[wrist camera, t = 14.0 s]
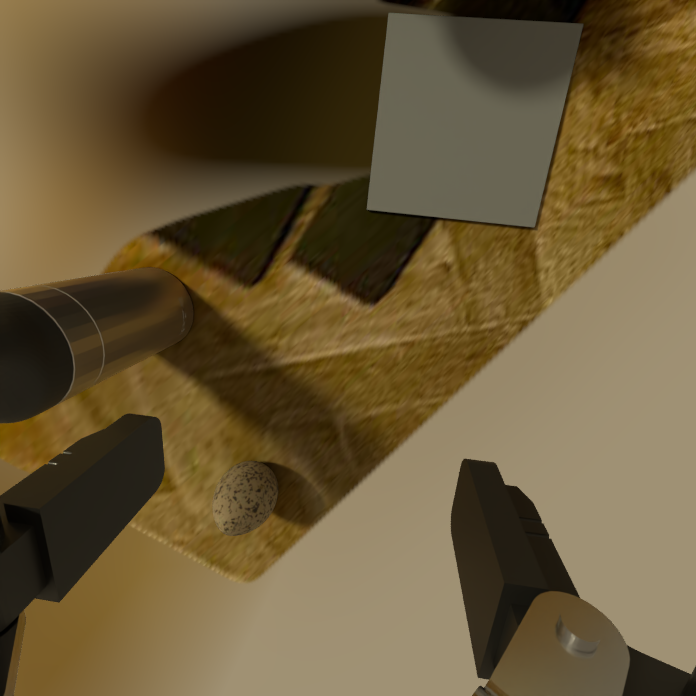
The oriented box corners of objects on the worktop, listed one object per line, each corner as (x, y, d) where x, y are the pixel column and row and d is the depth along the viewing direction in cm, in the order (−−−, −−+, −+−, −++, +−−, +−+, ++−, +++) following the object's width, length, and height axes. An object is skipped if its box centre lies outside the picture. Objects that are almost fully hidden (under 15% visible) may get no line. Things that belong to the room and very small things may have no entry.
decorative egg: (293, 461, 49) (267, 517, 39) (277, 504, 51) (248, 567, 42) (240, 440, 49) (201, 491, 40) (226, 484, 51) (187, 542, 42)
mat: (367, 209, 39) (366, 209, 38) (388, 15, 34) (388, 12, 34) (532, 227, 37) (534, 227, 37) (581, 26, 32) (583, 23, 32)
